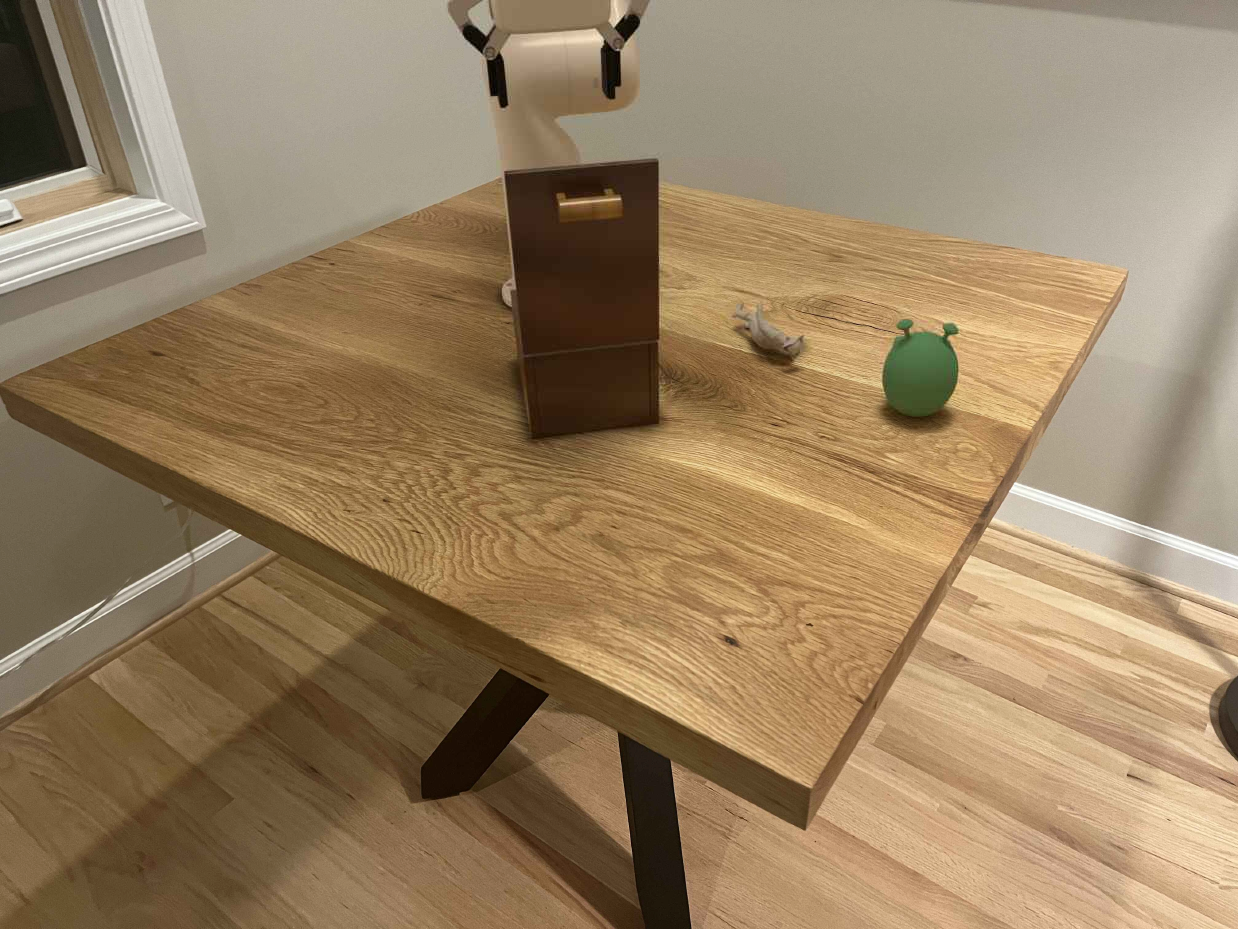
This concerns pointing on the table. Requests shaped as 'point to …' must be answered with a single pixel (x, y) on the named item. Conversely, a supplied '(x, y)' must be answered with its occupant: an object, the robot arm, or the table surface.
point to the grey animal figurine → (768, 332)
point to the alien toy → (920, 370)
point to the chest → (588, 386)
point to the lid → (585, 254)
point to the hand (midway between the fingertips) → (556, 99)
